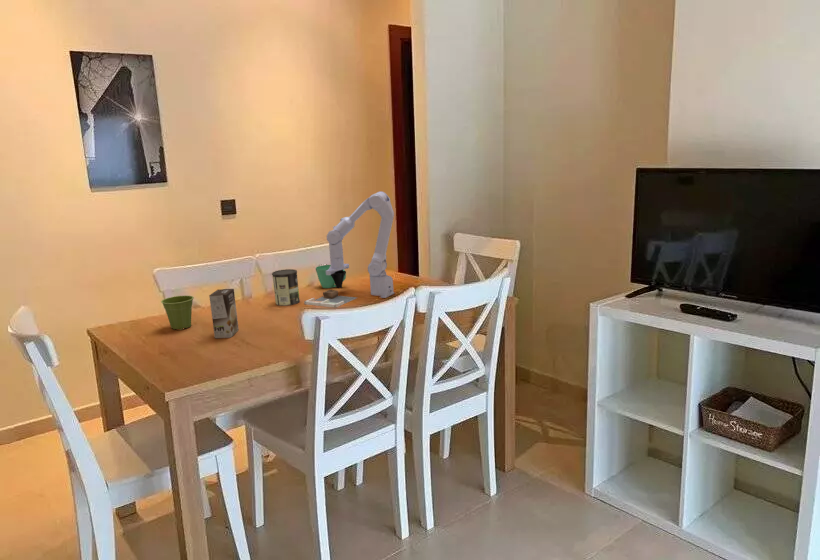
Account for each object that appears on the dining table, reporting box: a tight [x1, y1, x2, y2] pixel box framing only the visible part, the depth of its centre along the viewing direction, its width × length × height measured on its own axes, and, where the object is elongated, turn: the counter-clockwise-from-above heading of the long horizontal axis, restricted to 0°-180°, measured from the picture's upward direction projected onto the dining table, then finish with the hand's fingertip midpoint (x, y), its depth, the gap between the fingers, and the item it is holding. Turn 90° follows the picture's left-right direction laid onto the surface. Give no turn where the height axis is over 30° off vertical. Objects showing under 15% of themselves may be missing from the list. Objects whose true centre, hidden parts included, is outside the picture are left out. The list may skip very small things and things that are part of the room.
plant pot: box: [160, 295, 195, 330], centre depth 244 cm, size 12×12×11 cm
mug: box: [315, 264, 347, 289], centre depth 291 cm, size 15×10×10 cm
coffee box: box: [208, 288, 239, 339], centre depth 232 cm, size 9×6×16 cm
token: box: [322, 289, 339, 299], centre depth 274 cm, size 4×4×2 cm
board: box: [303, 295, 358, 309], centre depth 268 cm, size 16×16×2 cm
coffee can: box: [271, 268, 301, 307], centre depth 268 cm, size 10×10×14 cm
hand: (339, 287), depth 279 cm, fingers closed
